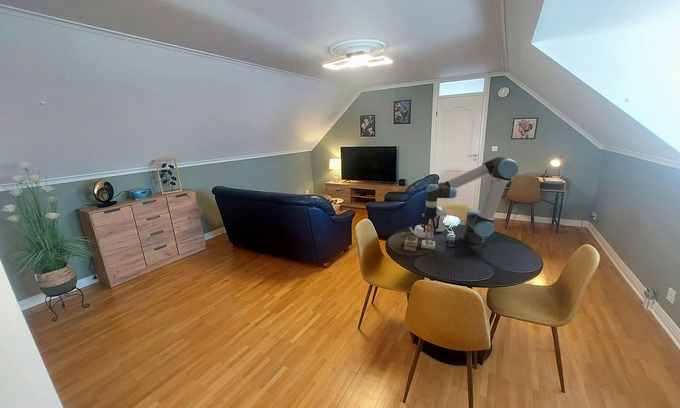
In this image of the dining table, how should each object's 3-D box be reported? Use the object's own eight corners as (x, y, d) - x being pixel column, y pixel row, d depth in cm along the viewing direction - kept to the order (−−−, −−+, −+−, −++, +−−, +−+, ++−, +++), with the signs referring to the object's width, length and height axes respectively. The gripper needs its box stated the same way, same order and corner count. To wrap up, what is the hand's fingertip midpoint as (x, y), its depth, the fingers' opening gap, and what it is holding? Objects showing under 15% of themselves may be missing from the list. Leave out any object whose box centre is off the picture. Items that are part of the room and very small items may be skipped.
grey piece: (446, 234, 222) (448, 210, 217) (435, 234, 222) (437, 210, 217) (438, 226, 240) (440, 204, 234) (428, 226, 240) (430, 204, 234)
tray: (422, 243, 206) (422, 240, 206) (434, 244, 203) (435, 241, 203) (421, 248, 198) (421, 244, 198) (434, 249, 195) (434, 246, 195)
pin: (425, 242, 203) (426, 226, 200) (431, 243, 202) (432, 226, 198) (425, 244, 199) (426, 228, 196) (431, 245, 198) (432, 228, 194)
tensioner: (406, 241, 210) (407, 233, 208) (417, 243, 207) (417, 235, 205) (403, 249, 197) (404, 240, 195) (415, 250, 194) (415, 242, 192)
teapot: (411, 239, 213) (411, 227, 210) (405, 233, 225) (406, 222, 222) (435, 238, 215) (436, 226, 212) (429, 232, 227) (430, 220, 224)
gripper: (417, 206, 192) (416, 237, 198) (444, 208, 186) (441, 240, 192) (418, 203, 199) (417, 233, 205) (444, 205, 193) (441, 236, 199)
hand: (428, 236), depth 199 cm, fingers closed on pin, 4 cm apart
